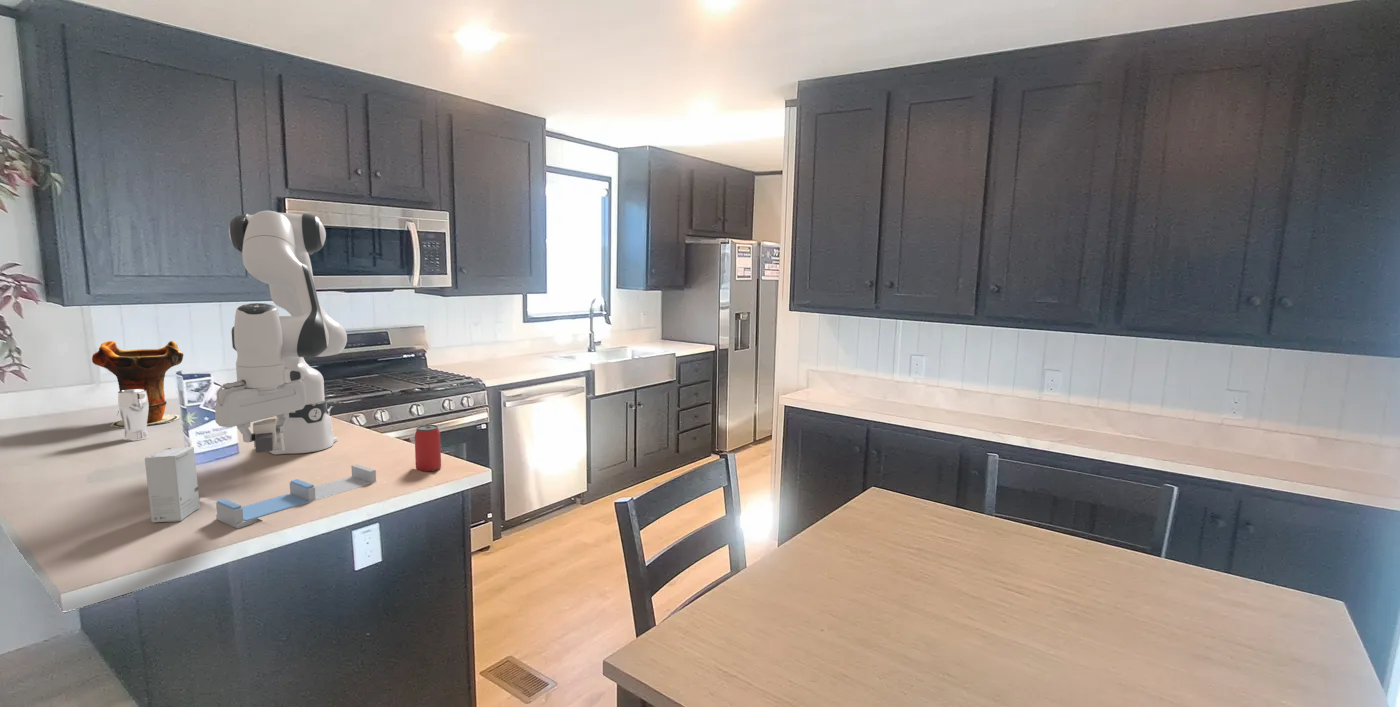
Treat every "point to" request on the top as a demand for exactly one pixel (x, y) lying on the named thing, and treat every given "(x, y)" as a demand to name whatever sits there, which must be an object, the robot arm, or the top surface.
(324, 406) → the robot arm
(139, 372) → the decorative vase
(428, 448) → the beer can
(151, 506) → the skincare box
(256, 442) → the grey post with collar
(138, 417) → the beer glass
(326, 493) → the slider rail
